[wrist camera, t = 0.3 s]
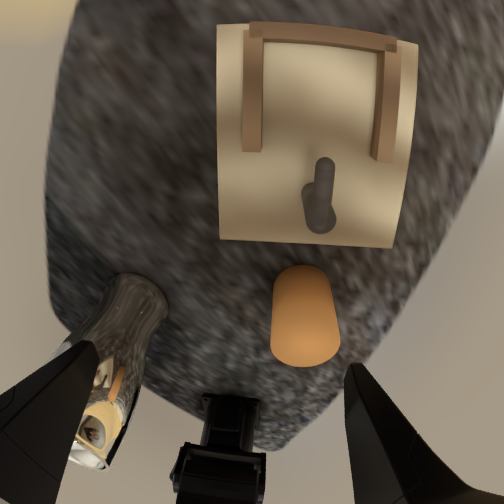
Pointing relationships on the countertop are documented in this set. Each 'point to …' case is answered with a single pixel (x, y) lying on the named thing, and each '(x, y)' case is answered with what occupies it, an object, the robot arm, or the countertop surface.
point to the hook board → (312, 133)
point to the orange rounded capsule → (303, 317)
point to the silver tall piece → (115, 364)
